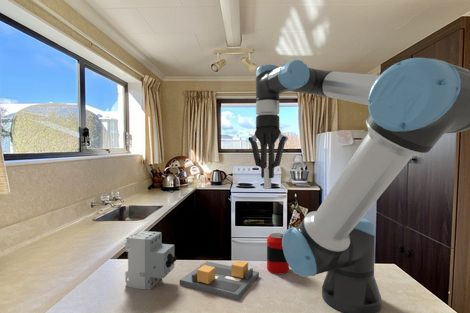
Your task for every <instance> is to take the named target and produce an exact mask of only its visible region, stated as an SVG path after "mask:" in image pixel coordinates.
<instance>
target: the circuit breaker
mask: <svg viewBox="0 0 470 313" xmlns="http://www.w3.org/2000/svg"><path fill="white" fill-rule="evenodd" d="M162 234H163V233H162V231H161V232H160V231H145V230H142V231H141V230H139V231H137V232H135V233H133V234H131V235H129V236H127V237H125V239H126V242H125V244H124V246H125V248H124V249H125V250H124V251H125V252H126V253H127V270H126V271H125V272H124V273H125V274H124V275H125V288H127V287H129V288H133V289H142V290H143V289H144V290H151V289H152V288H153V287H154V286H155V285H156V284H157V283H158V282H159V281H160V280H161V279H164V278H165V277H166V276H167V275H168V274H169V273H171V271H173V270H174V269H175V262H177V256H175V244H168V243H163V242H162V240H163V238H162Z"/></svg>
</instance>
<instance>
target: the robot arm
mask: <svg viewBox="0 0 470 313" xmlns="http://www.w3.org/2000/svg"><path fill="white" fill-rule="evenodd" d="M255 74H256V76H255V100H256V101H255V114H256V117H255V131H254V135H252V136H249V137H248V138H247V140H248V142H249V143H250V146H251V149H252V154H253V160H254V165H255V166H256V167H259V168H260V169H261V170H260V171H261V172H260V176H261V179H263V189H265V190H269V189H271V188H272V179H274V176H275V168H276V167H279V166H280V165H281V160H282V156H283V152H284V148H285V144H286V142H287V141H288V139H289V137H288V136H285V135H283V134H282V132H281V129H280V116H279V114H280V95H281V94H284V93H287V92H293V93H299V94H309V95H314V96H320V97H325V98H332V99H335V100H341V101H345V102H346V101H347V102H351V103H355V104H361V105H365V106H367V107H368V112H369V115H368V117H367V118H366V119H365V124H366V127H367V134H366V135H365V137H364V138H363V140H362V141H361V142H360V144H359V145H358V148H357V149H356V151H355V152H354V153H353V155H352V157H351V158H350V159H349V161H348V163H347V164H346V165H345V167H344V168H343V170H342V172H341V173H340V175H339V176H338V177H337V179H336V181H335V183H334V184H333V186H332V187H331V188H330V189H329V190H330V191H329V192H328V193H327V195H326V196H325V198H324V199H323V200H322V202H321V204H320V205H319V207H318V208H317V210H315V211H314V210H313V211H310V212H308V213H306V214H305V216H304V217H303V219H302V221H301V223H300V224H299V225H298V226H297V227H294V226H293V227H290V228H288V229H286V230H285V231H284V233H283V234H284V235H283V239H282V247H283V252H284V256H285V258H286V261H287V263H288V265H289V269H291V270H292V271H293V273H294V274H296V275H298V276H299V277H302V278H306V277H315V276H316V275H319V274H323V273H326V275H325V278H324V280H323V283H322V286H321V297H322V299H323V301H324V302H325V303H326V304H327V305H328V306H331V308H334V309H335V310H338V311H340V312H343V313H379V312H380V311H381V309H382V295H381V292H380V289H379V286H378V284H377V280H376V278H375V277H376V276H375V238H376V234H375V226H374V223H373V222H372V221H370V220H369V219H366V218H364V217H365V215H366V214H367V213H368V212H369V211H370V209H372V207H373V205H375V203H376V202H377V201H378V199H379V198H380V197H381V196H382V194H384V193H385V191H386V189H387V188H388V187H389V186H390V185H391V184H392V182H393V181H394V180H395V178H397V176H398V175H399V174H400V173H401V171H402V170H403V169H404V167H405V166H406V165H407V164H408V163H409V162H410V160H411V159H412V158H413V157H414V156H415V157H416V156H422V155H427V154H428V153H429V152H430V151H431V150H432V149H433V147H434V146H435V145H436V144H437V142H438V141H439V140H440V139H441V138H442V137H443V135H444V134H457V133H461V132H466V131H468V130H470V69H469V68H465V67H461V66H459V65H455V64H452V63H449V62H447V61H446V60H440V59H437V58H428V57H427V58H425V57H413V58H412V57H411V58H406V59H402V60H401V61H399V62H396V63H394V64H392V65H390V67H388V68H386V69H385V70H384V71H383V72H382V73H381V74H370V73H369V74H368V73H359V72H358V73H356V72H344V71H334V70H325V69H318V68H317V69H316V68H311V67H309V66H308V65H307V63H305V62H304V61H302V60H301V59H300V60H299V59H294V60H291V61H288V62H285V63H283V64H281V65H279V66H278V65H276V64H264V65H260V66H258V67H257V69H256V73H255ZM257 141H258V142H259V145H260V151H259V146H258V143H257ZM277 141H278V146H277V150H276V153H275V147H276V142H277ZM267 155H268V156H267ZM267 161H268V163H267Z"/></svg>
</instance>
